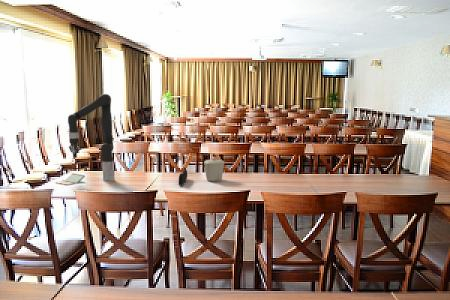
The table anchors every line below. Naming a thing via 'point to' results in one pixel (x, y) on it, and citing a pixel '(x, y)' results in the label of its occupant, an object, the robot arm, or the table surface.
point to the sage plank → (75, 178)
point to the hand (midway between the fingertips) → (74, 157)
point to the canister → (214, 169)
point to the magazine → (183, 177)
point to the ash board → (65, 182)
